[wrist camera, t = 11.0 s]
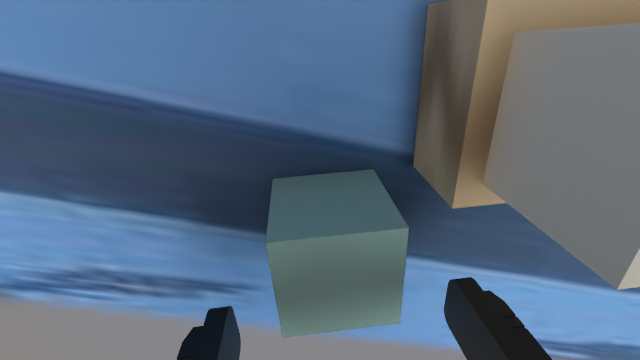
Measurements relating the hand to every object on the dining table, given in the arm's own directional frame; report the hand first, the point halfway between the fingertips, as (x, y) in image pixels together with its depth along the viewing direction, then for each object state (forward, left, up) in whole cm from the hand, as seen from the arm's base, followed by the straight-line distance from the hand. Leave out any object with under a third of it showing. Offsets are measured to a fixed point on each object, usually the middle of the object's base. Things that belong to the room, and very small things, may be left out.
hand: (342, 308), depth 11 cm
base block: (-6, +8, -6) cm, 12 cm away
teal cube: (0, 0, -6) cm, 6 cm away
